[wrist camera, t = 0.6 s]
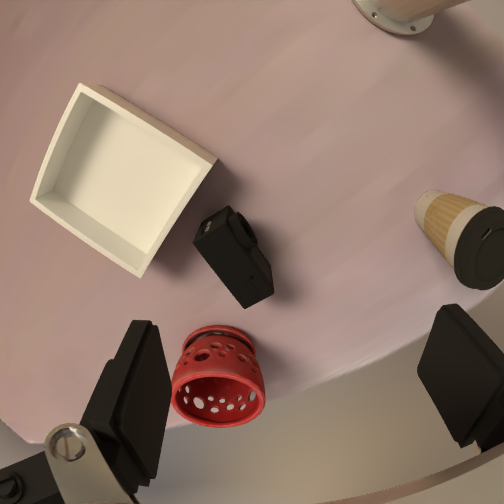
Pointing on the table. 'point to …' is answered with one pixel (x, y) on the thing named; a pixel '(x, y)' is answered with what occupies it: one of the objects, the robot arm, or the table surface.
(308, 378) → the table surface
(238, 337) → the plant pot
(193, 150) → the box
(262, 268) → the digital camera
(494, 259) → the coffee cup
